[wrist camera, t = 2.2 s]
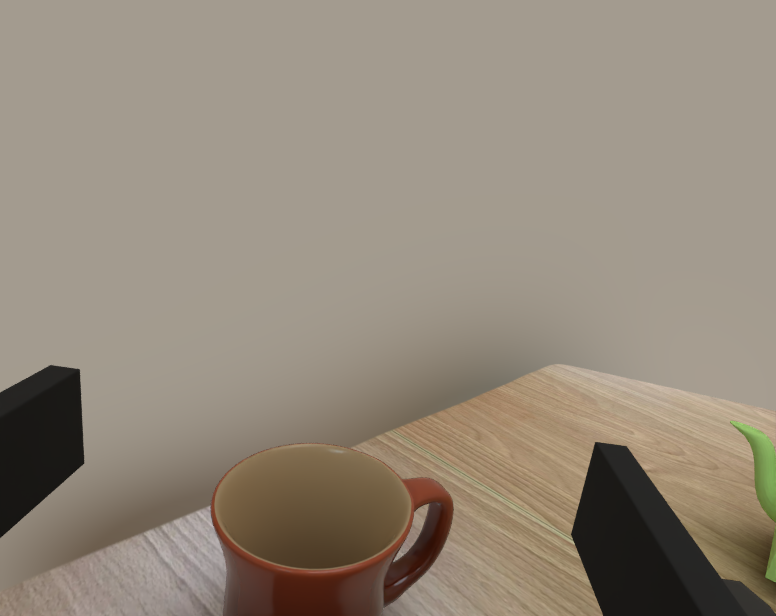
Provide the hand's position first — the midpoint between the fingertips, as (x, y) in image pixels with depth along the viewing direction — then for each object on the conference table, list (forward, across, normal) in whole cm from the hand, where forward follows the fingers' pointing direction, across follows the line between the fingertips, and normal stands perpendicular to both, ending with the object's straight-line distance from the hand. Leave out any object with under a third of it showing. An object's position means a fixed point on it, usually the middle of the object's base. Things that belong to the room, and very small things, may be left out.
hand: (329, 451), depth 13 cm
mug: (+10, 0, -19) cm, 21 cm away
